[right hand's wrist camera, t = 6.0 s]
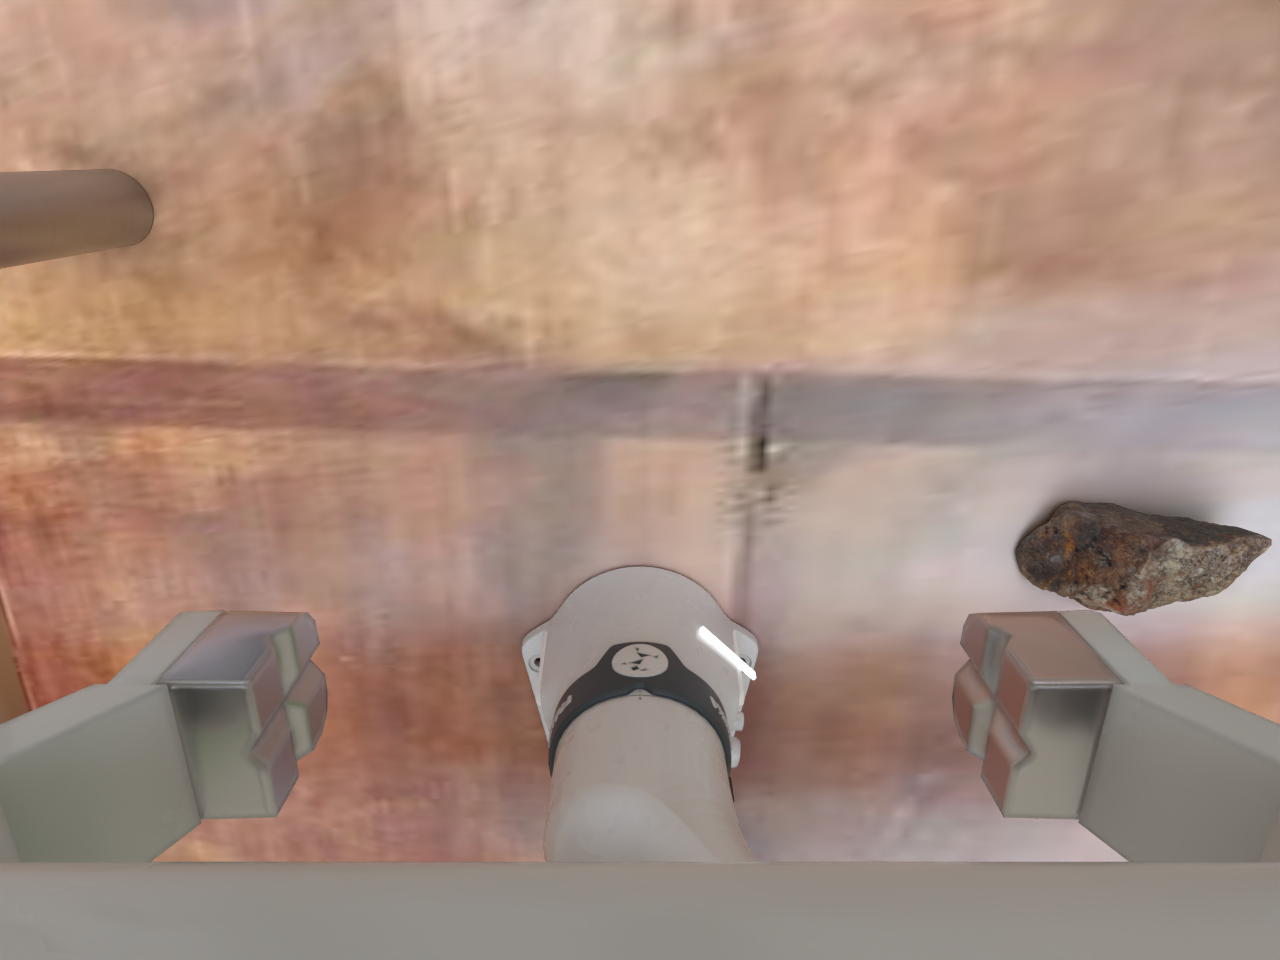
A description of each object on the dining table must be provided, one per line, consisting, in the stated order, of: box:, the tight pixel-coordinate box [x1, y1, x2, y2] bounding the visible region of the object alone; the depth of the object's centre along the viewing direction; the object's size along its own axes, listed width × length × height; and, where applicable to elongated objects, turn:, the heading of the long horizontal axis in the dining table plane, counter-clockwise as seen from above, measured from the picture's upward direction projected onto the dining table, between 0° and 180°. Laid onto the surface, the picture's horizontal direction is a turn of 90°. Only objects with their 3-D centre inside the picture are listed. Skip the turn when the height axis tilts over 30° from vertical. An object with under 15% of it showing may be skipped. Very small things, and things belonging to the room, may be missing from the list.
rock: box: [1016, 502, 1271, 616], centre depth 59 cm, size 14×9×10 cm
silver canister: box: [0, 169, 153, 269], centre depth 45 cm, size 5×5×19 cm
